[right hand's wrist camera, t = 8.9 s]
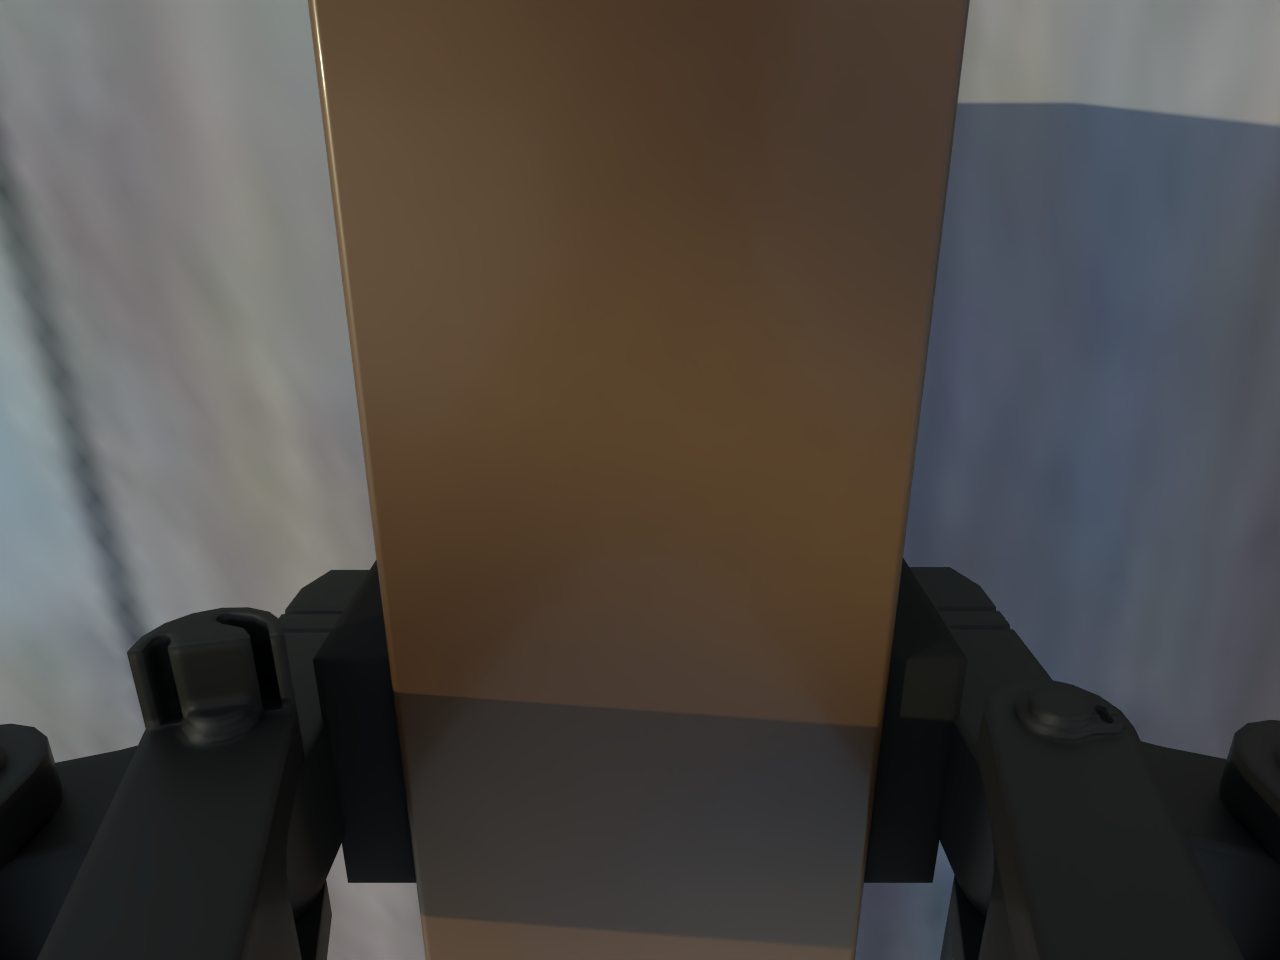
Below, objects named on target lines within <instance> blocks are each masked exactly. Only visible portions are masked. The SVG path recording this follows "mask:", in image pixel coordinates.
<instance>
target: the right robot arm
mask: <svg viewBox="0 0 1280 960" xmlns="http://www.w3.org/2000/svg"><path fill="white" fill-rule="evenodd" d="M127 655H128V659H129V663H130V667H131V671H132V675H133V679H134V683H135V687H136V691H137V695H138V699H139V703H140V707H141V711H142V715H143V719H144V723H145V727H146V730H145V732H144V734H143V736H142V738H141V740H140V742H139V745H138V746H134V747H130V748H127V749H123V750H119V751H114V752H109V753H103V754H98V755H93V756H88V757H83V758H78V759H73V760H68V761H63V762H58V763H55V762H54V758H53V755H52V752H51V748H50V745H49V742H48V738H47V737H46V736H45V735H44V734H42V733H41V732H40V731H39V730H37V729H36V728H35V727H29V726H23V725H16V724H4V725H0V960H327V952H328V944H329V935H330V926H331V918H332V913H331V906H330V900H329V894H328V888H327V882H326V878H327V876H328V873H329V871H330V869H331V866H332V864H333V862H334V859H335V857H336V855H337V852H338V850H339V848H340V845H341V843H342V847H343V853H344V859H345V866H346V872H347V878H348V883H416V875H415V867H414V859H413V851H412V843H411V835H410V827H409V818H408V810H407V802H406V794H405V786H404V778H403V770H402V762H401V753H400V745H399V737H398V729H397V721H396V713H395V705H394V696H393V688H392V680H391V672H390V664H389V656H388V648H387V640H386V631H385V623H384V615H383V607H382V599H381V591H380V583H379V574H378V566H377V560H376V561H375V563H374V564H373V566H372V568H371V569H370V570H331V571H329V572H327V573H326V574H324V575H323V576H321V577H319V578H318V579H316V580H315V581H313V582H311V583H310V584H308V585H307V586H305V587H303V588H302V589H301V590H300V591H299V593H298V594H297V595H296V597H295V598H294V599H293V601H292V602H291V603H290V604H289V606H288V607H287V608H286V610H285V614H282V615H281V616H280V618H279V619H278V618H277V617H276V616H274V615H273V614H271V613H270V612H267V611H262V610H258V609H253V608H249V607H246V608H219V609H214V610H208V611H203V612H198V613H193V614H190V615H187V616H184V617H181V618H179V619H176V620H173V621H170V622H167V623H165V624H163V625H161V626H159V627H158V628H156V629H154V630H153V631H151V632H149V633H147V634H146V635H144V636H142V637H141V638H140V639H139V640H138V641H137V642H136V643H135V644H134V645H133V646H132V647H131V648H130V650H129V651H128V652H127ZM939 839H940V842H941V844H942V846H943V849H944V851H945V853H946V856H947V858H948V860H949V862H950V865H951V867H952V869H953V872H954V874H955V876H954V882H953V888H952V894H951V899H950V905H949V911H948V917H947V923H946V929H945V934H944V940H943V946H942V952H941V959H940V960H953V959H954V960H1280V721H1276V720H1267V721H1261V722H1254V723H1248V724H1246V725H1245V726H1244V727H1242V728H1241V729H1240V730H1238V731H1237V732H1236V733H1235V734H1234V738H1233V741H1232V744H1231V748H1230V751H1229V754H1228V758H1227V759H1222V758H1217V757H1212V756H1207V755H1202V754H1197V753H1191V752H1186V751H1181V750H1176V749H1171V748H1166V747H1161V746H1157V745H1153V744H1150V743H1146V742H1142V741H1140V739H1139V737H1138V735H1137V732H1136V730H1135V728H1134V727H1133V726H1132V724H1131V723H1130V722H1129V720H1128V719H1127V718H1126V717H1125V715H1124V714H1123V713H1122V712H1121V711H1120V710H1119V709H1117V708H1116V707H1115V706H1113V705H1112V704H1110V703H1109V702H1107V701H1106V700H1104V699H1103V698H1101V697H1100V696H1098V695H1096V694H1093V693H1091V692H1088V691H1086V690H1084V689H1081V688H1079V687H1076V686H1074V685H1071V684H1067V683H1062V682H1058V681H1053V680H1052V679H1051V678H1050V676H1049V675H1048V674H1047V672H1046V671H1045V670H1044V668H1043V667H1042V666H1041V665H1040V663H1039V662H1038V661H1037V659H1036V658H1035V657H1034V656H1033V654H1032V653H1031V652H1030V650H1029V649H1028V648H1027V646H1026V645H1025V644H1024V643H1023V641H1022V640H1021V639H1020V637H1019V636H1018V635H1017V634H1016V632H1015V631H1014V630H1013V629H1010V625H1009V623H1008V622H1007V621H1006V619H1005V618H1004V617H1003V615H1002V614H1001V613H1000V612H999V611H996V606H995V605H994V604H993V603H992V601H991V600H990V599H989V597H988V596H987V595H986V593H985V592H984V591H983V590H982V588H981V587H980V586H979V585H978V584H976V583H974V582H973V581H971V580H970V579H968V578H966V577H965V576H963V575H961V574H960V573H958V572H957V571H955V570H953V569H952V568H950V567H909V566H908V565H907V563H906V562H905V560H904V559H903V560H902V569H901V577H900V585H899V594H898V602H897V610H896V619H895V627H894V635H893V644H892V652H891V660H890V669H889V677H888V685H887V694H886V702H885V710H884V719H883V727H882V735H881V744H880V752H879V760H878V769H877V777H876V785H875V794H874V802H873V810H872V819H871V827H870V835H869V844H868V852H867V860H866V869H865V877H864V883H932V882H933V876H934V870H935V864H936V857H937V851H938V845H939Z"/></svg>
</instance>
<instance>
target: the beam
mask: <svg viewBox="0 0 1280 960" xmlns="http://www.w3.org/2000/svg"><path fill="white" fill-rule="evenodd" d="M969 2H970V0H308V5H309V13H310V22H311V30H312V38H313V46H314V54H315V62H316V70H317V79H318V87H319V95H320V103H321V111H322V119H323V127H324V135H325V144H326V152H327V160H328V168H329V176H330V184H331V192H332V200H333V209H334V217H335V225H336V233H337V241H338V249H339V257H340V266H341V274H342V282H343V290H344V298H345V306H346V314H347V322H348V331H349V339H350V347H351V355H352V363H353V371H354V379H355V387H356V396H357V404H358V412H359V420H360V428H361V436H362V444H363V453H364V461H365V469H366V477H367V485H368V493H369V501H370V509H371V518H372V526H373V534H374V542H375V550H376V558H377V566H378V574H379V583H380V591H381V599H382V607H383V615H384V623H385V631H386V640H387V648H388V656H389V664H390V672H391V680H392V688H393V696H394V705H395V713H396V721H397V729H398V737H399V745H400V753H401V762H402V770H403V778H404V786H405V794H406V802H407V810H408V818H409V827H410V835H411V843H412V851H413V859H414V867H415V875H416V883H417V892H418V900H419V908H420V916H421V924H422V932H423V940H424V949H425V957H426V960H855V952H856V944H857V935H858V927H859V919H860V910H861V902H862V894H863V885H864V877H865V869H866V860H867V852H868V844H869V835H870V827H871V819H872V810H873V802H874V794H875V785H876V777H877V769H878V760H879V752H880V744H881V735H882V727H883V719H884V710H885V702H886V694H887V685H888V677H889V669H890V660H891V652H892V644H893V635H894V627H895V619H896V610H897V602H898V594H899V585H900V577H901V569H902V560H903V552H904V544H905V535H906V527H907V519H908V510H909V502H910V494H911V485H912V477H913V469H914V460H915V452H916V444H917V435H918V427H919V419H920V410H921V402H922V394H923V385H924V377H925V369H926V360H927V352H928V344H929V335H930V327H931V319H932V310H933V302H934V294H935V285H936V277H937V269H938V260H939V252H940V244H941V235H942V227H943V219H944V210H945V202H946V194H947V185H948V177H949V169H950V160H951V152H952V144H953V135H954V127H955V119H956V110H957V102H958V94H959V85H960V77H961V69H962V60H963V52H964V44H965V35H966V27H967V19H968V10H969Z"/></svg>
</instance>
